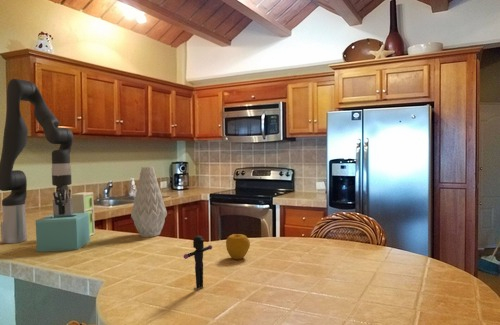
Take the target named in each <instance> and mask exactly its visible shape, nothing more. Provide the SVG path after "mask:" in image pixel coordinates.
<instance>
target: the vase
mask: <svg viewBox="0 0 500 325" xmlns="http://www.w3.org/2000/svg"><path fill="white" fill-rule="evenodd" d="M130 215H131V216H130V218H131V219H132V220H133V222H134V223H133V224H134V226H135V228H136V230H137V232H138V233H139V235H140V237H143V238H151V237H152V238H153V237H157V236H159V235H161V232H162V230H163V228H164V225H165V218H166V217H167V216H168V212H167V208H166V206H165V203H164V198H163V195H162V191H161V189H160V184H159V183H158V179H157V175H156V171H155V168H154V166H142V167H141V168H140V173H139V179H138V183H137V187H136V191H135V196H134V201H133V206H132V211H131V213H130Z"/></svg>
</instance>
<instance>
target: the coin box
mask: <svg viewBox="0 0 500 325" xmlns="http://www.w3.org/2000/svg"><path fill="white" fill-rule="evenodd" d="M35 236H36V253H44V252H62V251H63V252H64V251H78V250H79V249H81V248H82V247H83V245H84V246H85V245H86V244H88V243H89V242H90V240H91V239H90V238H91V236H90V235H89V213H73V214H72V215H67V216H54V215H53V214H49V215H47V216H46V215H45V216H44V217H41V218H39V219H36V220H35Z"/></svg>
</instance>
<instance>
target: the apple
mask: <svg viewBox="0 0 500 325" xmlns="http://www.w3.org/2000/svg"><path fill="white" fill-rule="evenodd" d="M250 242H251V241H250V239H249V238H248V237H247V235H245V234H242V233H233V234H231V235H229V236H228V237H226V241H225V248H226V250H227V253H228V254H229V255H228V256H230V258H231V259H234V260H242V259H244V257H245V256H246V255H247V254H248V251H249V249H250V246H251V243H250Z"/></svg>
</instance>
